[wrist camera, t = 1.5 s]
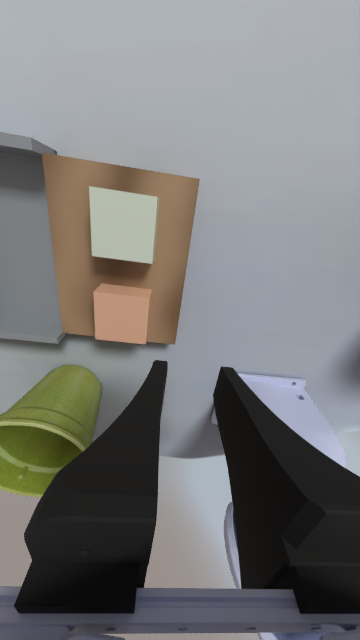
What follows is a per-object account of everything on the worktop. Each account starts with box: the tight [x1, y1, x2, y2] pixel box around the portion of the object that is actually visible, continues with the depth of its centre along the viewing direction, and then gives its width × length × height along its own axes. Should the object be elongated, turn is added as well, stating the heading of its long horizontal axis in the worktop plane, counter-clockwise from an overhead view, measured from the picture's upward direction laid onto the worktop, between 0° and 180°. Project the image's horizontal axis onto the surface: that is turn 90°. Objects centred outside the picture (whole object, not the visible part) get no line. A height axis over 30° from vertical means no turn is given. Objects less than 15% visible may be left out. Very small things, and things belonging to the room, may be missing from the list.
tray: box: [0, 132, 67, 344], centre depth 16 cm, size 7×14×3 cm, turn 172°
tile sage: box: [89, 186, 160, 264], centre depth 15 cm, size 4×4×2 cm
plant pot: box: [0, 365, 102, 497], centre depth 21 cm, size 9×9×9 cm
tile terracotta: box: [93, 284, 152, 344], centre depth 17 cm, size 4×4×2 cm
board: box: [42, 153, 199, 344], centre depth 18 cm, size 10×13×2 cm
